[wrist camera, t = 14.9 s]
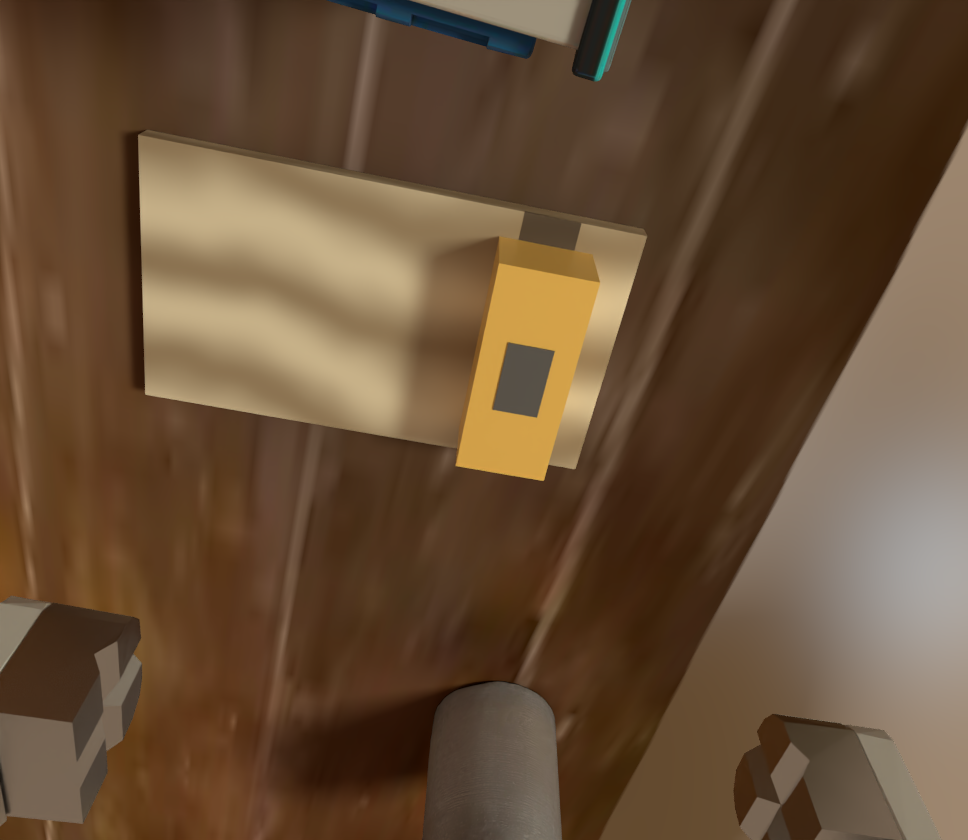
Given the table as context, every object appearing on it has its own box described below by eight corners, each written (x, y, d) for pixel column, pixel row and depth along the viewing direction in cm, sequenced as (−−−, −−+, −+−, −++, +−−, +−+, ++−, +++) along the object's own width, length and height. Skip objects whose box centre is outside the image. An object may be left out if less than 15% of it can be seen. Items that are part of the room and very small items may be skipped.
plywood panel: (147, 129, 41) (137, 134, 40) (643, 228, 43) (647, 236, 42) (152, 384, 49) (145, 394, 48) (573, 458, 51) (575, 469, 50)
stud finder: (499, 236, 42) (499, 263, 39) (592, 254, 43) (600, 283, 39) (459, 427, 48) (455, 466, 45) (540, 442, 49) (543, 481, 45)
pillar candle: (521, 772, 67) (525, 971, 54) (412, 738, 65) (390, 936, 52) (577, 702, 62) (596, 901, 50) (463, 662, 60) (451, 859, 48)
